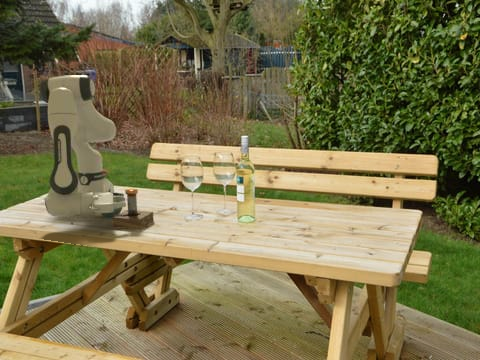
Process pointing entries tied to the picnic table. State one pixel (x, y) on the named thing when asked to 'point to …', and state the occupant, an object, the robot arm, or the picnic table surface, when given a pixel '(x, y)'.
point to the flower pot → (117, 210)
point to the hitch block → (132, 220)
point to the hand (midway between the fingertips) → (125, 201)
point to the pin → (132, 201)
